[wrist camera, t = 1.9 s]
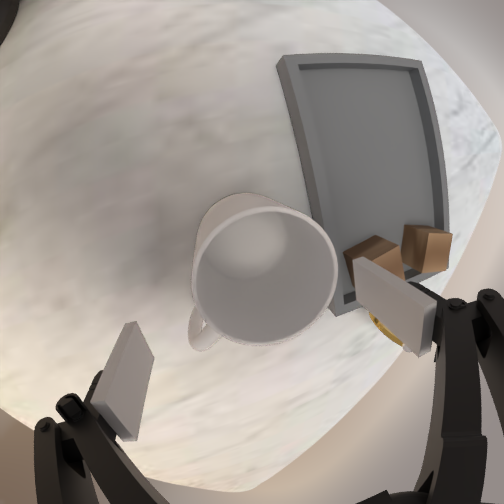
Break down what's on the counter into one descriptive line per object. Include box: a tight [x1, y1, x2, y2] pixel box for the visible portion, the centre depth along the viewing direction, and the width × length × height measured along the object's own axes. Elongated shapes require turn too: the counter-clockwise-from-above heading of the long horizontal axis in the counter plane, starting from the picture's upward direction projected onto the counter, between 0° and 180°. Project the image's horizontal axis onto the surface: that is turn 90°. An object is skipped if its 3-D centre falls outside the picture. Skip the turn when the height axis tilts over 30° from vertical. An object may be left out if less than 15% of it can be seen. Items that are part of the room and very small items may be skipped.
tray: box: [276, 53, 449, 317], centre depth 24 cm, size 24×16×2 cm, turn 14°
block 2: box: [400, 225, 453, 273], centre depth 25 cm, size 4×4×4 cm
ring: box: [369, 312, 412, 352], centre depth 25 cm, size 7×3×8 cm, turn 66°
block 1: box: [343, 235, 405, 288], centre depth 24 cm, size 4×4×4 cm
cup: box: [188, 193, 338, 351], centre depth 20 cm, size 8×12×10 cm
